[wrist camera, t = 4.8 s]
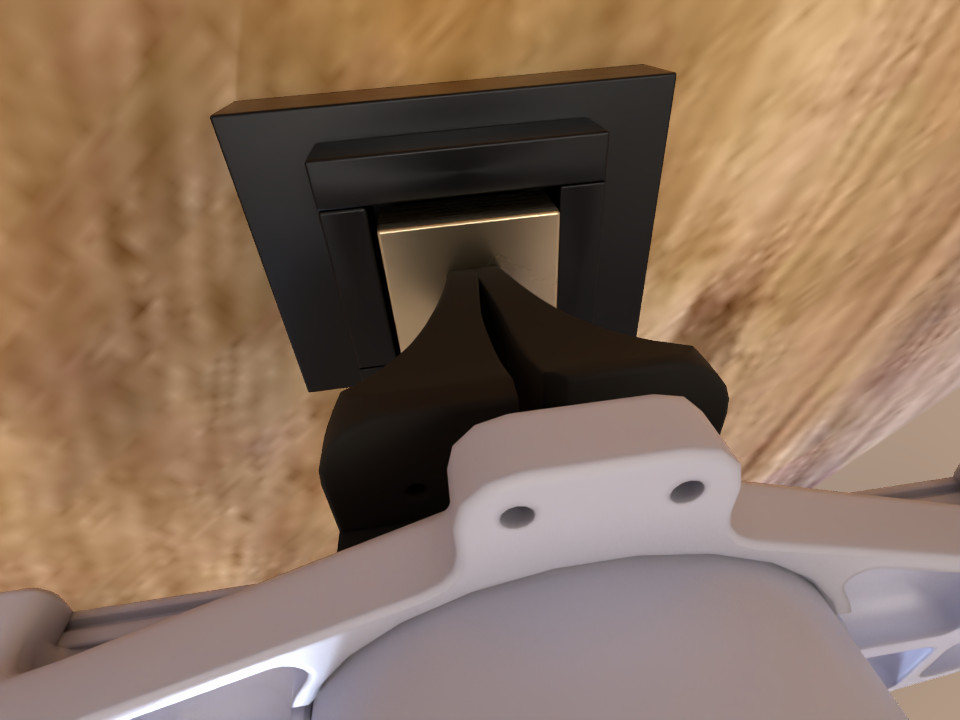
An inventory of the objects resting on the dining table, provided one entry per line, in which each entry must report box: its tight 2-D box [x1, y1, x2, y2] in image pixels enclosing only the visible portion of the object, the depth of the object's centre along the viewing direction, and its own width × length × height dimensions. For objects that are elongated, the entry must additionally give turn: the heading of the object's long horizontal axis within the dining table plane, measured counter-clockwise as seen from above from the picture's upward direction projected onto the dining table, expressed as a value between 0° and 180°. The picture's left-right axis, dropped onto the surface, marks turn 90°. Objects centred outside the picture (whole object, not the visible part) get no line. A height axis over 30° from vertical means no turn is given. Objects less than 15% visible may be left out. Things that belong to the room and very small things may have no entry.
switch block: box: [210, 64, 676, 392], centre depth 15 cm, size 12×9×4 cm
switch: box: [377, 190, 560, 353], centre depth 14 cm, size 4×4×2 cm
